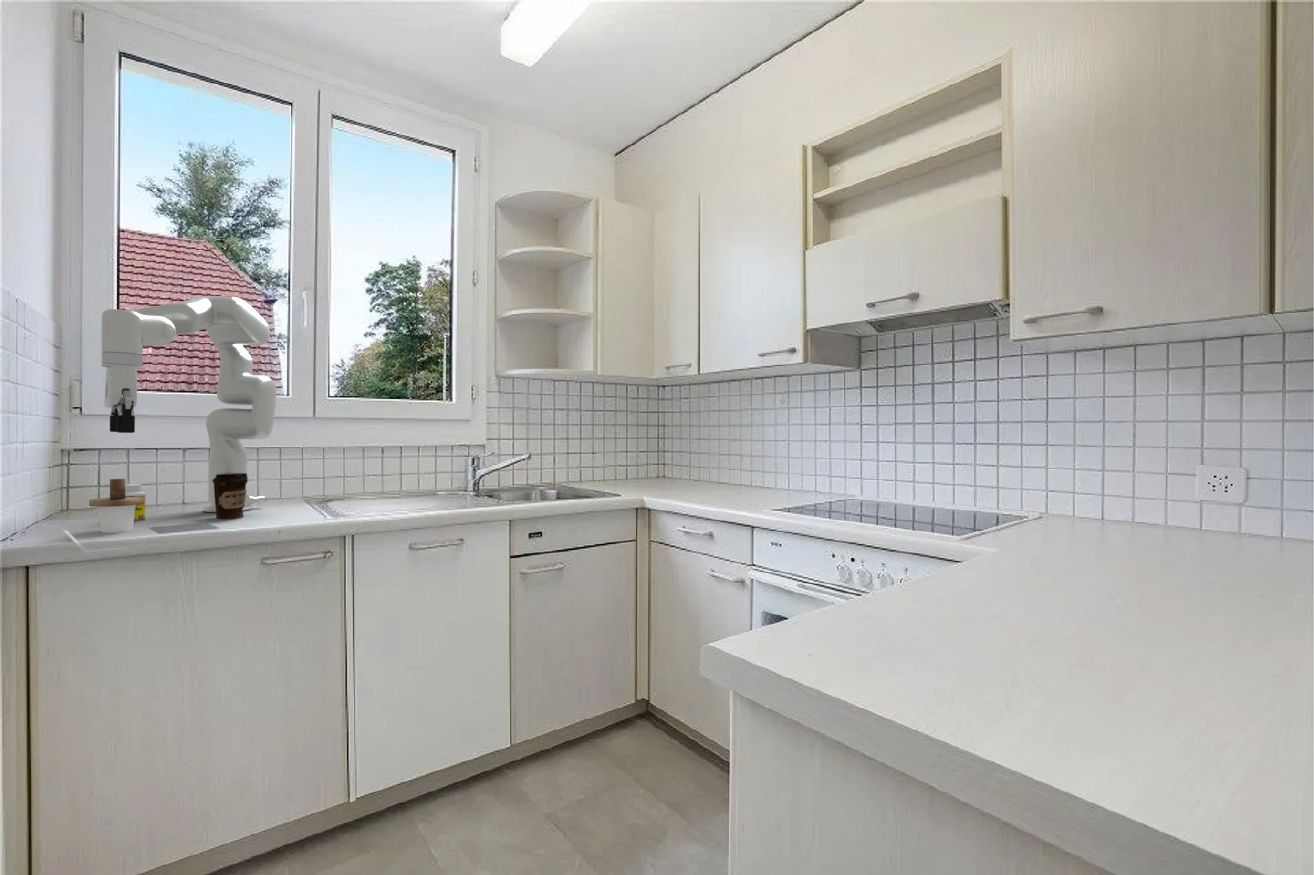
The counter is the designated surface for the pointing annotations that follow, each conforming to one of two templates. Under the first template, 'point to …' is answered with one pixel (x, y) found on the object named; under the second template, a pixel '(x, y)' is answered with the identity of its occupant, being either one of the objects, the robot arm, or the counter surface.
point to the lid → (116, 496)
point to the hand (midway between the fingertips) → (122, 432)
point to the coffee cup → (230, 495)
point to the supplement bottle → (135, 491)
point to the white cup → (116, 518)
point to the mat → (183, 528)
